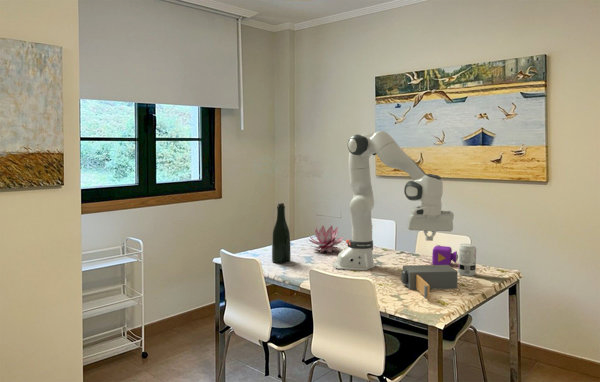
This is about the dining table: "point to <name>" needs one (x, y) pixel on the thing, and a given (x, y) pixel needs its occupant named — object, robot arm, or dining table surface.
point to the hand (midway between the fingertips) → (429, 240)
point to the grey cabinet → (430, 276)
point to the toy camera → (443, 255)
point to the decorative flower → (326, 239)
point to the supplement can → (467, 260)
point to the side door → (422, 286)
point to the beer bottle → (281, 237)
